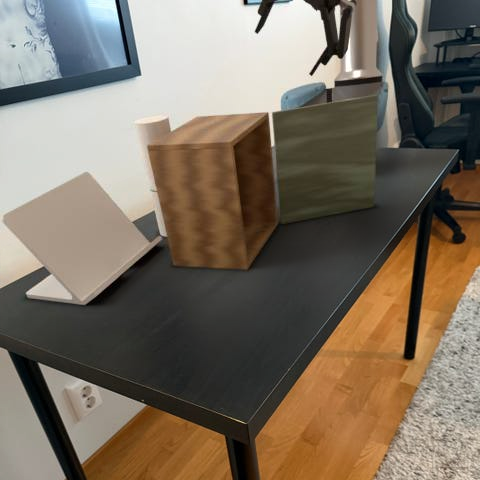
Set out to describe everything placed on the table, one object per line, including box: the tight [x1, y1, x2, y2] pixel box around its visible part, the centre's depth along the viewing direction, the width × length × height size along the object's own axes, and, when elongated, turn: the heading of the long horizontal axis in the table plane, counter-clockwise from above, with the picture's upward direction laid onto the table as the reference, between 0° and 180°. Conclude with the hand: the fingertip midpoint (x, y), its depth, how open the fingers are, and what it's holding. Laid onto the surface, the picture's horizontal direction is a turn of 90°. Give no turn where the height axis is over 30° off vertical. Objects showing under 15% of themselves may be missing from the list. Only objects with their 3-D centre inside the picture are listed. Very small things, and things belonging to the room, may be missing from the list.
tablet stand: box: [0, 171, 163, 306], centre depth 95 cm, size 18×25×17 cm
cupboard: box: [147, 111, 279, 271], centre depth 96 cm, size 16×22×24 cm
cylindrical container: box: [134, 114, 172, 237], centre depth 106 cm, size 7×7×25 cm
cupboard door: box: [271, 95, 378, 225], centre depth 105 cm, size 6×22×24 cm, turn 100°
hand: (286, 50), depth 97 cm, fingers open, 13 cm apart
